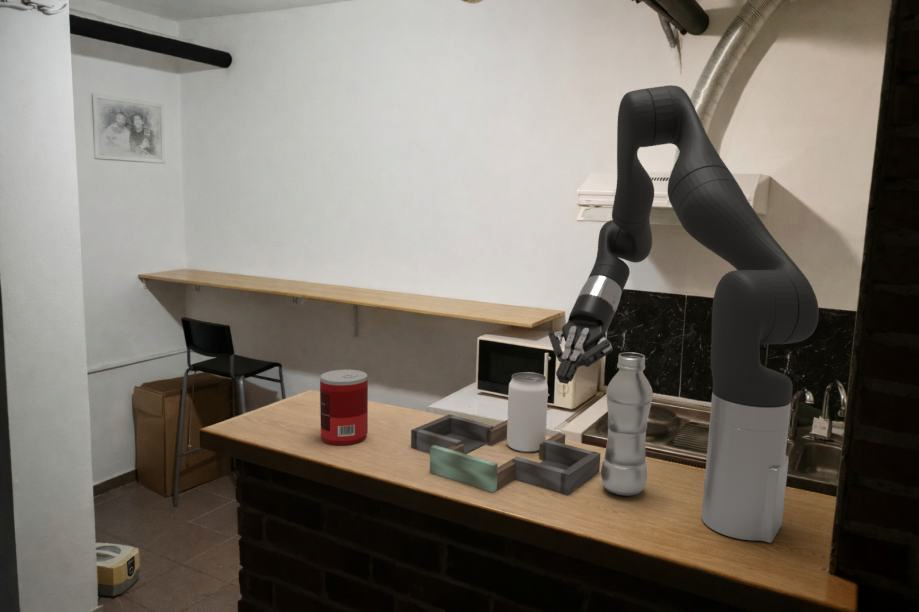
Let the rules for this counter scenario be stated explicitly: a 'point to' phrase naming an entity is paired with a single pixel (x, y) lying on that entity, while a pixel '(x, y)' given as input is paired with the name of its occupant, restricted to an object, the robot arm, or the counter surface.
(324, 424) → the canned food
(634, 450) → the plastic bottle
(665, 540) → the counter surface
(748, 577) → the counter surface
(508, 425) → the can
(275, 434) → the counter surface
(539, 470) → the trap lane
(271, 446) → the counter surface
